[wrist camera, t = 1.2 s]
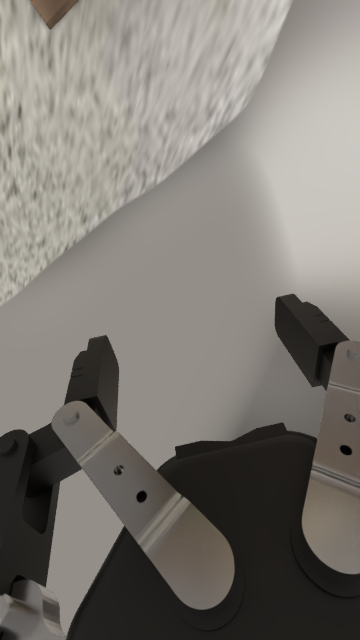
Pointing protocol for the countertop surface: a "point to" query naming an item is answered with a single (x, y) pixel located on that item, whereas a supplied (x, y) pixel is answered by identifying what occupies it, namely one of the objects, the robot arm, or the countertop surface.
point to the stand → (52, 9)
